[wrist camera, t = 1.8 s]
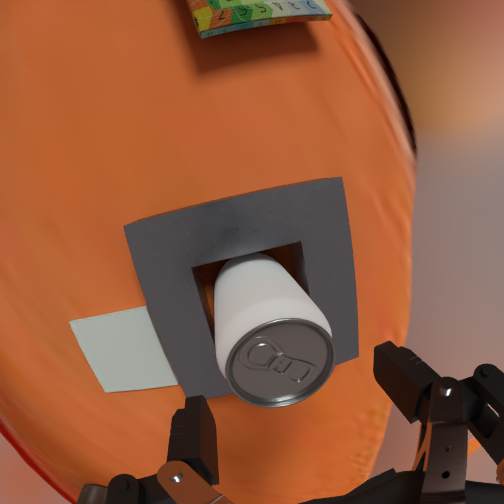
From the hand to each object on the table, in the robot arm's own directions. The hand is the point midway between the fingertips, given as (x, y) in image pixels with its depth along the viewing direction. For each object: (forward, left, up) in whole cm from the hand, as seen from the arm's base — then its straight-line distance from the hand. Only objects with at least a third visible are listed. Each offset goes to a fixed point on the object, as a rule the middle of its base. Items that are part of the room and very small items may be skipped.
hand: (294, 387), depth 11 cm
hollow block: (0, 0, -14) cm, 14 cm away
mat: (-14, -4, -14) cm, 20 cm away
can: (0, 0, -14) cm, 14 cm away
